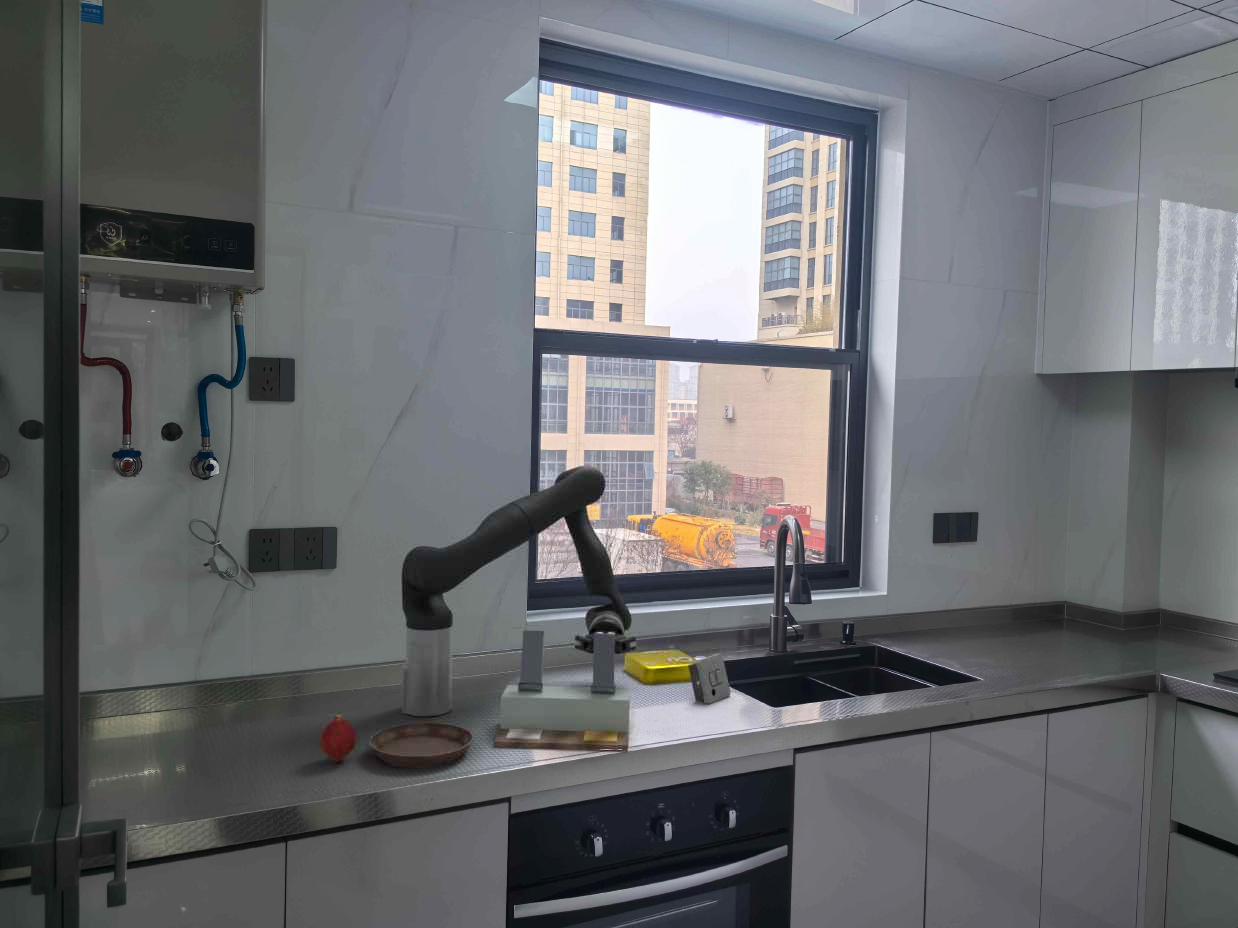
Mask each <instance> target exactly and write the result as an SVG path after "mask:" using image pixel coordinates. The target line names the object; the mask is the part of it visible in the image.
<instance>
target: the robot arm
mask: <svg viewBox="0 0 1238 928" xmlns="http://www.w3.org/2000/svg"><path fill="white" fill-rule="evenodd" d="M605 489H606V479H605V476H604V474H603V472H601V470H599V469H598V468H597V467H594V466H591V465H579V466H576V467H573V468H570V469H568V470H565V471H562V472H560V473H559V474H558V475H557V477H556V479H555V482H554V484H553V485H551V486H550V487H548V488H547V487H546V488H545V489H542V490H540V491H536V492H533V493H530V494H528V495H525V496H523V497H520V498H518V499H515V500H513V501H511V502H509V503H507V504H505V505H503V506H502V507H499V508H498V509H496V510H494V511H492V512H491V513H489V514H488V515H487V516H486V517H485V518H484V519H483V520H482V521H481V522H480V524H479V525H478V527H477V528H476V529H475V530H474V531H473V533H471V534H470V535H468V536H466V537H465V538H463V539H462V540H459V541H457V542H455V543H452V544H451V545H448V546H445V547H435V546H430V545H419V546H416V547H414V548H412V549H411V550H409V551H408V553H407V554H406V556H405V557H404V560H403V563H402V568H401V602H402V611H403V614H404V617H405V626H406V627H405V664H404V665H402V672H401V673H402V680H401V681H402V682H401V684H402V685H401V686H402V687H401V714H405V715H406V714H407V715H409V716H414V717H435V716H441V715H444V714H448V713H449V712H450V711H452V699H453V698H452V689H453V688H452V687H453V683H452V682H453V681H452V680H453V678H452V677H453V676H452V675H453V623H454V621H453V619H454V617H453V616H454V615H453V612H452V610H451V609H450V608H449V607H448V605H447V604H446V601H445V599H444V595H443V594H445V593H448V592H451V591H452V590H454V589H455V588H456V587H458V586H459V585H460V584H461V583H463V582H464V581H465V580H467V579H468V578H469V577H471V576H472V575H473V574H474V573H476V572H478V571H479V570H480V569H482V568H483V567H485V566H486V565H488V564H490V563H492V562H493V561H495V560H497V559H499V558H500V557H502V556H504V555H506V554H508V553H509V552H512V551H513V550H515V549H516V548H518V547H520V546H522V545H524V544H525V543H527V542H528V541H530V540H532V539H533V538H535V537H537V536H538V535H540V534H541V533H542V532H544V531H546V530H547V529H548V528H551V526H553V525H555V523H557V522H559V521H560V520H561V519H562V518H564V521H565V524H566V526H567V529H568V531H569V534H570V537H571V539H572V542H573V544H574V548H575V551H576V554H577V557H578V563H579V565H580V570H581V573H582V578H583V582H584V587H585V590H586V593H587V595H588V596H590V597H606V598H608V599H609V600H610V602H611V603H607V604H604V605H599V606H594V607H591V608H590V609H588V610H587V612H586V614H585V621H584V622H585V626H586V629H587V631H588V634H586V635H585V636H583V635H578V634H577V635H575V636H574V649H575V650H579V651H583V652H584V653H587V654H592V655H593V652H594V633H615V655H621V654H626V653H630V652H631V651H635V650H636V649H637V638H636V636H629V637H626V635H625V632H627V631H629V630H630V628H631V626H632V622H633V618H632V615H631V614H632V613H631V612H630V610H629V607H628V606H627V605H626V603H625V601H624V599H623V598H622V596H621V594H620V593H621V592H620V591H619V589H618V585H617V583H616V579H615V575H614V572H613V571H614V570H613V566H612V563H611V560H610V556H609V553H608V550H606V547H605V546H604V544H603V543H602V541H601V540H600V538H599V537H598V535H597V534H596V531H595V530H594V527H593V526H592V524H591V521H590V518H589V513H588V509H587V507H588V506H589V505H591V506H592V505H593V504H595V503H596V502H598V500H599V499H601V498H602V496H603V495H604V492H605Z"/></svg>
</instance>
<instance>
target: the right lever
mask: <svg viewBox="0 0 1238 928" xmlns="http://www.w3.org/2000/svg"><path fill="white" fill-rule="evenodd" d="M592 655H593V659H592V661H593V662H592V663H593V664H592V666H593V669H592V684H591V686H590V687H591V693H615V692H616V688H617V687H616V686H617V685H616V684H615V663H616V661H615V659H616V657H615V656H616V654H615V633H594V652H593V654H592Z"/></svg>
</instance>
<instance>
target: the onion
mask: <svg viewBox="0 0 1238 928" xmlns="http://www.w3.org/2000/svg"><path fill="white" fill-rule="evenodd" d="M356 741H357V734H356V731H355V728H354V726H353V725H352V724H350V722H349V721H347V720H346V719H344V718H343V716H342V715H341V714H336V715H335V716H334V717H333V720H332V721H330V722H328V723H327V725H326V726H324V729H323V730H322V732H321V734H320V739H319V745H320V748H321V750H322V752H323V753H324V754H325V755H326V756H327V757H330V759H332V761H334V762H336V763H337V762H338V763H339V762H340V761H343V760H344V758H346V757H348V756H349V754H350V753H351V752H352V751H353V750H354V747H355V746H356V743H357V742H356Z"/></svg>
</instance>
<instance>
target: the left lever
mask: <svg viewBox="0 0 1238 928" xmlns="http://www.w3.org/2000/svg"><path fill="white" fill-rule="evenodd" d="M522 631H523V632H522V643H521V644H522V646H521V660H520V661H521V663H520V675H519V676H520V678H519V679H520V680H519V682H518V691H543V686H544V683H543V682H542V681H543V665H544V663H543V662H544V649H545V648H544V647H545V646H544V645H545V630H528V629H527V630H522Z"/></svg>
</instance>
